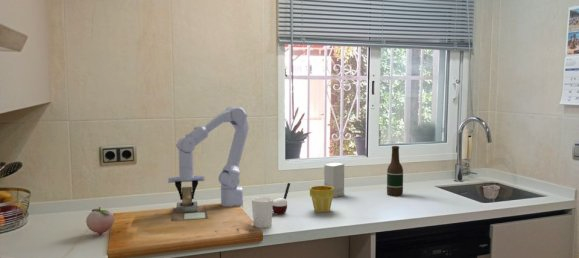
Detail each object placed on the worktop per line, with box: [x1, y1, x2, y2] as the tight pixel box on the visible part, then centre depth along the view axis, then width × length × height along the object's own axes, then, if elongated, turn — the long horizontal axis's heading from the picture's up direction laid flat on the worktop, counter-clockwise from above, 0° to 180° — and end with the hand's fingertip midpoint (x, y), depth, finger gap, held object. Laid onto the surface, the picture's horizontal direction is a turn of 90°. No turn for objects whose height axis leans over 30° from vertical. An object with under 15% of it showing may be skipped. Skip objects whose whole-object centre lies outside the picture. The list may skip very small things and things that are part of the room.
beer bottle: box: [386, 145, 404, 198], centre depth 219 cm, size 8×8×24 cm
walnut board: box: [170, 205, 209, 222], centre depth 183 cm, size 14×21×2 cm, turn 12°
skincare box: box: [323, 162, 345, 199], centre depth 219 cm, size 8×7×16 cm
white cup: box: [251, 196, 274, 229], centre depth 170 cm, size 8×8×10 cm
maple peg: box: [181, 186, 193, 206], centre depth 187 cm, size 4×4×8 cm
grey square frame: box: [175, 200, 198, 213], centre depth 187 cm, size 8×8×2 cm
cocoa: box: [272, 182, 291, 215], centre depth 187 cm, size 10×6×12 cm, turn 102°
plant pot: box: [309, 185, 334, 213], centre depth 191 cm, size 10×10×10 cm
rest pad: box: [184, 212, 205, 221], centre depth 178 cm, size 8×8×1 cm
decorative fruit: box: [85, 206, 115, 235], centre depth 159 cm, size 9×8×10 cm
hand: (187, 199), depth 187 cm, fingers closed on maple peg, 4 cm apart
